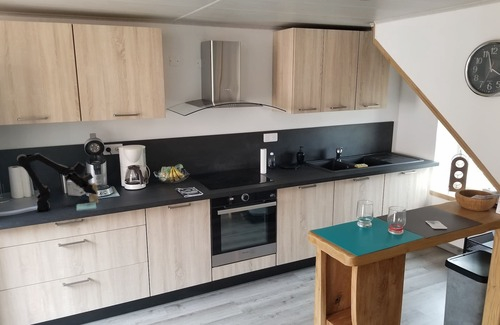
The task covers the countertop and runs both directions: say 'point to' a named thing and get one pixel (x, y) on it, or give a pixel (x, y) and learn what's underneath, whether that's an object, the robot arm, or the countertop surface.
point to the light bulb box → (74, 189)
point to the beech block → (93, 197)
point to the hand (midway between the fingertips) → (95, 192)
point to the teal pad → (86, 206)
